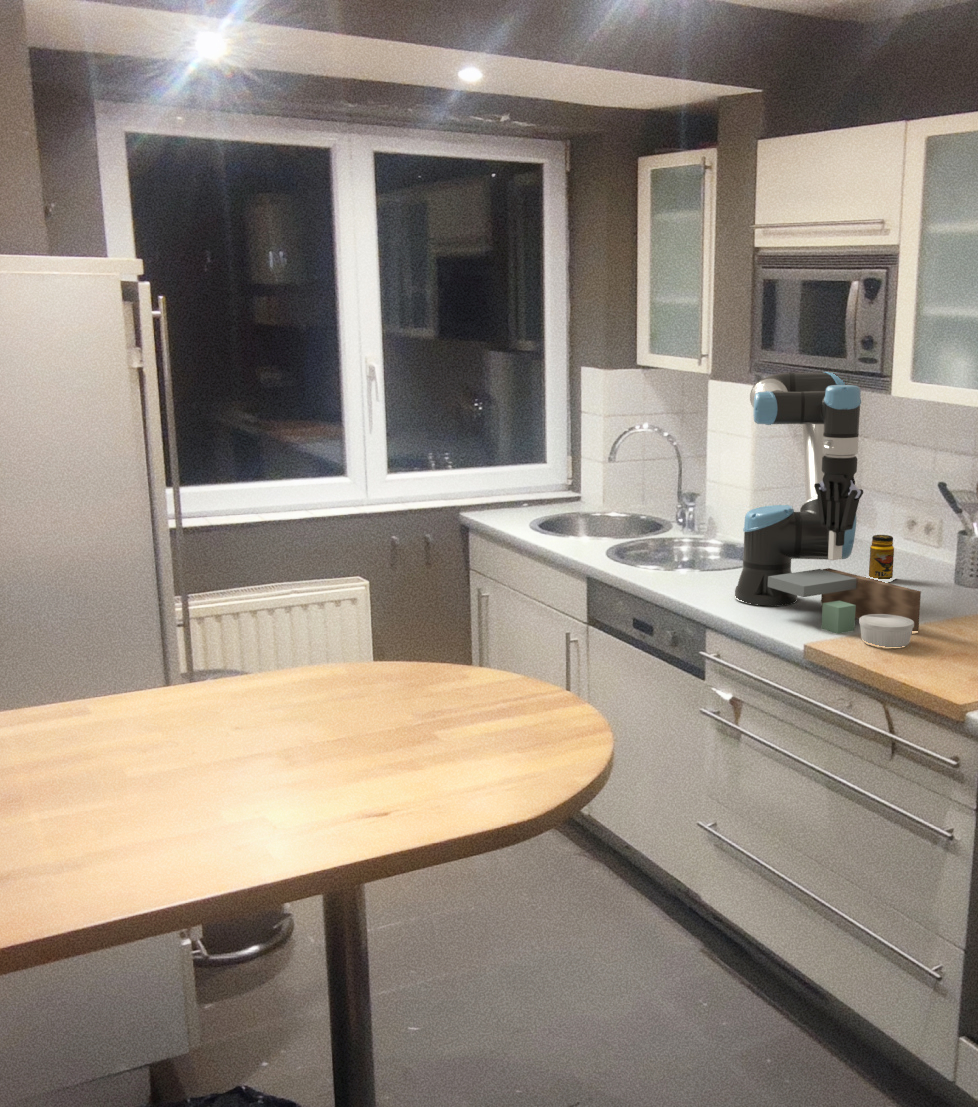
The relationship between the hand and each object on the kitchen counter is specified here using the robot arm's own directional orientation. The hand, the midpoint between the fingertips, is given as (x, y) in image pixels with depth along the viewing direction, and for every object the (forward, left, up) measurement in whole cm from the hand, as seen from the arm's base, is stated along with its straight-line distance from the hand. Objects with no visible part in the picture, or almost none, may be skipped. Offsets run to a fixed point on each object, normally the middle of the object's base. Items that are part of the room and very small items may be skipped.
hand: (834, 558), depth 251 cm
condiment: (-27, +42, -15) cm, 52 cm away
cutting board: (+2, +9, -15) cm, 18 cm away
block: (+5, -3, -15) cm, 16 cm away
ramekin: (+18, -2, -15) cm, 24 cm away
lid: (-7, 0, -8) cm, 11 cm away
